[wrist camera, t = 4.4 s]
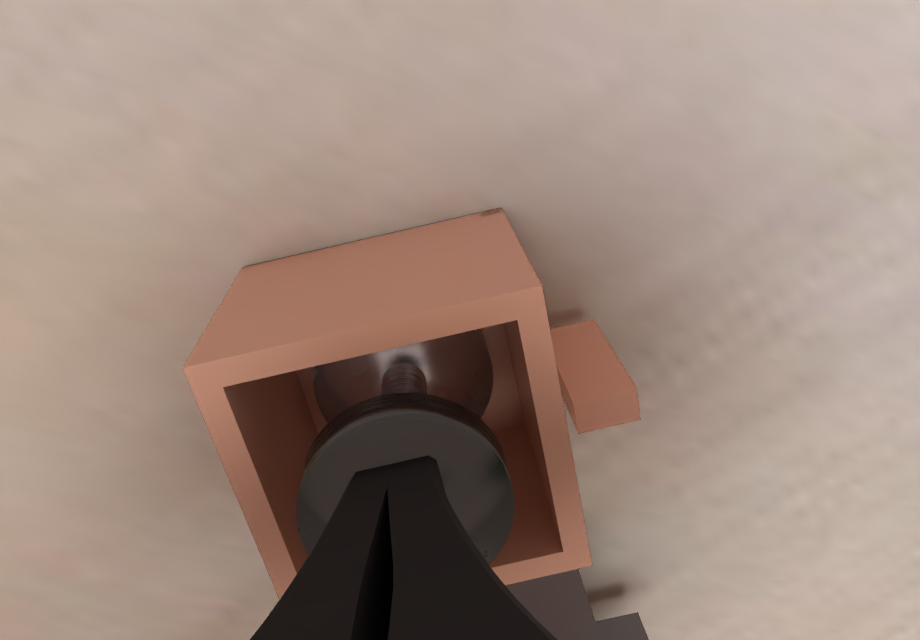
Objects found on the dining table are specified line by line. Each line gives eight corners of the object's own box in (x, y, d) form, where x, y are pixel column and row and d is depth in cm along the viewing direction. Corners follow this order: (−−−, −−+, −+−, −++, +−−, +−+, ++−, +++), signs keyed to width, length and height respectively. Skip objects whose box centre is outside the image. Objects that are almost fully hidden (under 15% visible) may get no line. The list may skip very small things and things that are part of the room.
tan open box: (599, 416, 19) (664, 549, 14) (318, 480, 19) (293, 632, 14) (564, 193, 16) (629, 265, 12) (242, 267, 16) (182, 367, 12)
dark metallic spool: (504, 423, 18) (544, 579, 13) (343, 460, 18) (322, 628, 13) (470, 271, 16) (501, 384, 11) (293, 312, 16) (249, 441, 11)
